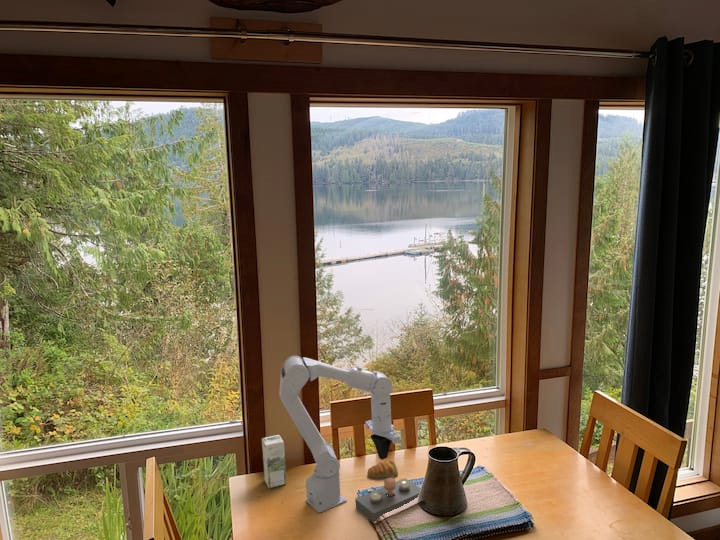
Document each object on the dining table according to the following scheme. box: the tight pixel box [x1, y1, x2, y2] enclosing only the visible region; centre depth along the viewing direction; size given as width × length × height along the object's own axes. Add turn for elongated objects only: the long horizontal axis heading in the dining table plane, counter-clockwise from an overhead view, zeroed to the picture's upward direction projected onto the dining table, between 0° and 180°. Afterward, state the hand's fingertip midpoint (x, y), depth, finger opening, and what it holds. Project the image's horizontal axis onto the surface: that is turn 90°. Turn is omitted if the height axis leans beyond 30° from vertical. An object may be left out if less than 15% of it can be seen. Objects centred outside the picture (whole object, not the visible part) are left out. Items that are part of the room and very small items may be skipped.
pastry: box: [367, 459, 399, 480], centre depth 169 cm, size 9×7×4 cm
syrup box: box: [261, 434, 287, 490], centre depth 166 cm, size 6×6×14 cm
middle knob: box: [383, 477, 396, 498], centre depth 151 cm, size 3×3×5 cm
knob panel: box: [354, 477, 422, 523], centre depth 152 cm, size 18×9×3 cm, turn 124°
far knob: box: [397, 478, 410, 492], centre depth 154 cm, size 3×3×5 cm
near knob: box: [369, 490, 382, 504], centre depth 149 cm, size 3×3×5 cm
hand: (383, 457), depth 158 cm, fingers closed
